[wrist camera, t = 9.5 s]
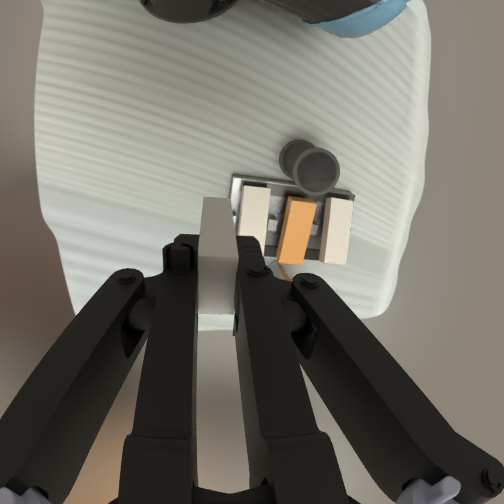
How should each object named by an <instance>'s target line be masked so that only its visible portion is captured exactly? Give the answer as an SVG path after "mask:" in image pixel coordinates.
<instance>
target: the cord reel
mask: <svg viewBox="0 0 504 504" xmlns="http://www.w3.org/2000/svg"><path fill="white" fill-rule="evenodd" d="M279 163H280V167H281V169H282V171H283V172H284V173H285V174H286V175H287V176H288V177H289V178H291V179H294V182H295V184H296V185H297V186H298V188H299V189H300V190H301V191H303V192H304V193H306V194H309V195H314V196H317V195H322V194H325V193H327V192H329V191H330V190H331V189H332V188H333V187H334V186H335V185H336V183H337V181H338V179H339V175H340V167H339V163H338V161H337V159H336V157H335V156H334V155H333V154H332V153H331V152H329V151H328V150H325V149H323V148H318V147H315V146H314V145H312V144H311V143H309V142H307V141H304V140H295V141H292V142H290V143H288V144H287V145H286V146H285V147H284V148H283V149H282V151H281V153H280V157H279Z"/></svg>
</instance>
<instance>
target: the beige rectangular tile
mask: <svg viewBox="0 0 504 504" xmlns="http://www.w3.org/2000/svg"><path fill="white" fill-rule="evenodd" d="M352 208H353V201H350V200H344V199H338V198H332V197H331V198H326V202H325V212H324V222H323V231H322V239H321V248H320V256H319V261H321V262H323V263H333V264H346V259H347V251H348V244H349V235H350V227H351V218H352Z"/></svg>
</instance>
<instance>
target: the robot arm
mask: <svg viewBox="0 0 504 504" xmlns="http://www.w3.org/2000/svg"><path fill="white" fill-rule="evenodd" d="M139 1H140V3H141V4H142V5H143V7H144V8H145V9H146V10H147V11H148V12H149V13H150V14H152V15H153V16H155V17H157V18H159V19H161V20H164V21H168V22H173V23H196V22H201V21H205V20H209V19H212V18H214V17H216V16H219V15H220V14H222V13H224V12H226V11H227V10H229V9H230V8H231V7H232V6H233V5H235V4H236V3H237V1H238V0H139ZM259 1H262V2H264V3H267V4H269V5H272V6H274V7H276V8H279V9H281V10H283V11H286V12H288V13H290V14H292V15H294V16H296V17H299V18H301V19H302V21H303V22H305V23H306V24H308V25H312V26H317V27H319V28H321V29H323V30H325V31H327V32H329V33H331V34H333V35H335V36H338V37H342V38H358V37H362V36H365V35H368V34H370V33H372V32H374V31H376V30H378V29H380V28H381V27H383V26H384V25H386V24H387V23H389V22H390V21H392V20H393V19H394V18H395V17H397V16H398V15H399V14H400V13H401V12H402V11H403V10H404V9H405V8H406V6H407V5H406V2H408V1H410V0H259ZM162 250H163V272H162V273H161V274H159V275H156V276H152V277H146V278H144V276H143V273H142V272H140V271H139V270H136V269H131V268H126V269H121V270H118V271H116V272H114V273H113V274H112V275H111V276H110V277H109V278H108V279H107V280H106V282H105V283H104V284H103V285H102V286H101V287H100V288H99V289H98V291H97V292H96V293H95V294H94V295H93V296H92V298H91V299H90V300H89V301H88V302H87V303H86V305H85V306H84V307H83V308H82V309H81V311H80V312H79V313H78V314H77V315H76V317H75V318H74V319H73V320H72V322H71V323H70V324H69V325H68V326H67V328H66V329H65V330H64V331H63V333H62V334H61V335H60V337H59V338H58V339H57V340H56V342H55V343H54V344H53V345H52V347H51V348H50V349H49V351H48V352H47V353H46V355H45V356H44V357H43V359H42V360H41V361H40V363H39V364H38V365H37V367H36V368H35V369H34V371H33V372H32V373H31V375H30V376H29V378H28V379H27V380H26V382H25V383H24V385H23V386H22V388H21V389H20V390H19V392H18V394H17V395H16V397H15V398H14V399H13V401H12V402H11V404H10V405H9V407H8V408H7V410H6V411H5V413H4V415H3V416H2V418H1V419H0V504H63V502H64V501H65V499H66V497H67V496H68V495H69V493H70V491H71V489H72V487H73V485H74V483H75V481H76V479H77V477H78V475H79V473H80V470H81V468H82V466H83V464H84V462H85V460H86V457H87V455H88V453H89V451H90V449H91V447H92V445H93V443H94V440H95V438H96V436H97V434H98V432H99V430H100V428H101V426H102V424H103V422H104V420H105V418H106V416H107V414H108V412H109V410H110V408H111V406H112V404H113V402H114V400H115V398H116V396H117V394H118V392H119V390H120V388H121V387H122V385H123V383H124V381H125V379H126V377H127V375H128V373H129V371H130V369H131V367H132V366H133V364H134V362H135V360H136V358H137V356H138V354H139V353H140V351H141V349H142V347H143V345H144V343H145V341H146V340H147V345H146V350H145V356H144V361H143V366H142V371H141V378H140V383H139V389H138V396H137V402H136V409H135V417H134V423H133V430H132V432H131V434H129V435H127V437H126V439H125V441H124V446H123V453H122V462H121V471H120V481H119V493H118V498H116V499H114V500H113V501H111V502H110V503H109V504H360V503H359V502H357V501H356V500H354V499H353V498H352V497H350V496H348V495H347V493H346V489H345V486H344V482H343V479H342V475H341V472H340V468H339V465H338V462H337V458H336V455H335V451H334V448H333V444H332V442H331V440H330V437H329V436H328V435H327V433H325V432H322V431H320V430H319V429H318V427H317V424H316V421H315V417H314V413H313V410H312V406H311V403H310V399H309V395H308V392H307V389H306V385H305V381H304V378H303V375H302V371H301V367H300V365H301V366H302V368H303V370H304V371H305V373H306V374H307V376H308V378H309V379H310V381H311V382H312V384H313V386H314V387H315V389H316V391H317V392H318V394H319V395H320V397H321V399H322V400H323V402H324V403H325V405H326V406H327V408H328V410H329V411H330V413H331V414H332V416H333V418H334V419H335V421H336V422H337V424H338V425H339V427H340V429H341V430H342V432H343V433H344V435H345V437H346V438H347V440H348V441H349V443H350V444H351V446H352V447H353V449H354V451H355V452H356V454H357V455H358V457H359V459H360V460H361V462H362V463H363V465H364V466H365V468H366V469H367V471H368V472H369V474H370V476H371V477H372V478H373V480H374V481H375V483H376V484H377V485H378V486H379V488H380V489H381V490H382V491H383V492H384V493H385V494H386V495H387V496H388V497H389V498H390V499H391V500H392V501H393V502H395V503H396V504H484V503H486V502H487V501H489V500H491V499H493V498H494V497H496V496H497V495H498V494H500V493H501V492H502V490H503V488H504V467H503V465H502V464H501V463H500V462H499V461H498V460H497V459H496V458H494V457H492V456H491V455H489V454H488V453H486V452H485V451H483V450H482V449H480V448H479V447H477V446H476V445H474V444H473V443H471V442H470V441H468V440H467V439H465V438H464V437H462V436H461V435H459V434H458V433H456V432H455V431H454V430H453V429H452V427H451V426H450V425H449V424H448V422H447V421H446V420H445V419H444V418H443V416H442V415H441V414H440V413H439V411H438V410H437V409H436V408H435V407H434V405H433V404H432V403H431V402H430V400H429V399H428V398H427V397H426V396H425V394H424V393H423V392H422V391H421V390H420V389H419V387H418V386H417V385H416V384H415V383H414V381H413V380H412V379H411V378H410V377H409V375H408V374H407V373H406V372H405V371H404V370H403V368H402V367H401V366H400V365H399V364H398V363H397V361H396V360H395V359H394V358H393V357H392V356H391V354H390V353H389V352H388V351H387V350H386V349H385V348H384V347H383V345H382V344H381V343H380V342H379V341H378V340H377V339H376V337H375V336H374V335H373V334H372V333H371V332H370V330H368V328H367V327H366V326H365V325H364V324H363V323H362V322H361V320H360V319H359V318H358V317H357V316H356V315H355V314H354V313H353V311H352V310H351V309H350V308H349V307H348V306H347V305H346V304H345V303H344V301H343V300H342V299H341V298H340V297H339V296H338V295H337V294H336V293H335V292H334V290H333V289H332V288H331V287H330V286H329V285H328V284H327V283H326V282H325V281H324V280H323V279H322V278H321V277H319V276H317V275H315V274H310V273H300V274H296V275H295V276H294V277H293V281H287V280H283V279H279V278H277V277H275V276H274V275H273V272H272V270H271V269H270V268H269V267H268V266H266V264H265V261H264V257H263V254H262V250H261V246H260V243H259V241H258V240H257V239H256V238H255V237H254V236H241V235H235V227H234V220H233V213H232V205H231V198H213V197H204V200H203V209H202V218H201V227H200V235H194V234H180V235H178V236H177V237H176V238H175V239H174V243H170V244H168V245H166V246H165V247H164V248H163V249H162ZM234 310H235V315H234V327H233V336H235V339H236V351H237V361H238V370H239V381H240V391H241V400H242V410H243V419H244V428H245V437H246V445H247V453H248V462H249V472H250V479H249V480H250V481H249V482H250V483H249V486H250V489H248V490H245V491H241V492H237V493H232V494H228V493H222V492H217V491H213V490H208V489H204V488H200V487H198V475H197V438H196V437H197V436H196V380H197V379H196V377H197V375H196V374H197V336H198V313H199V314H234ZM147 338H148V339H147ZM299 363H300V364H299Z"/></svg>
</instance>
